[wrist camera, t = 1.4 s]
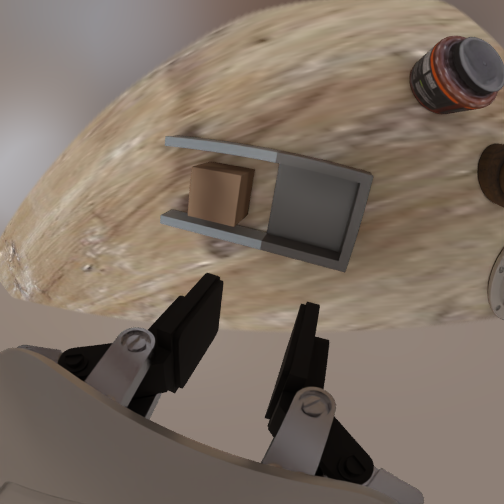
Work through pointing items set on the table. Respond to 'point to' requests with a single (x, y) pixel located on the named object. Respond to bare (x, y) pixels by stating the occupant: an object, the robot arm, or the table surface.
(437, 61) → the supplement bottle
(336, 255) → the grey u-shaped bracket
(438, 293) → the table surface
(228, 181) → the walnut block
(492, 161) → the pepper mill
